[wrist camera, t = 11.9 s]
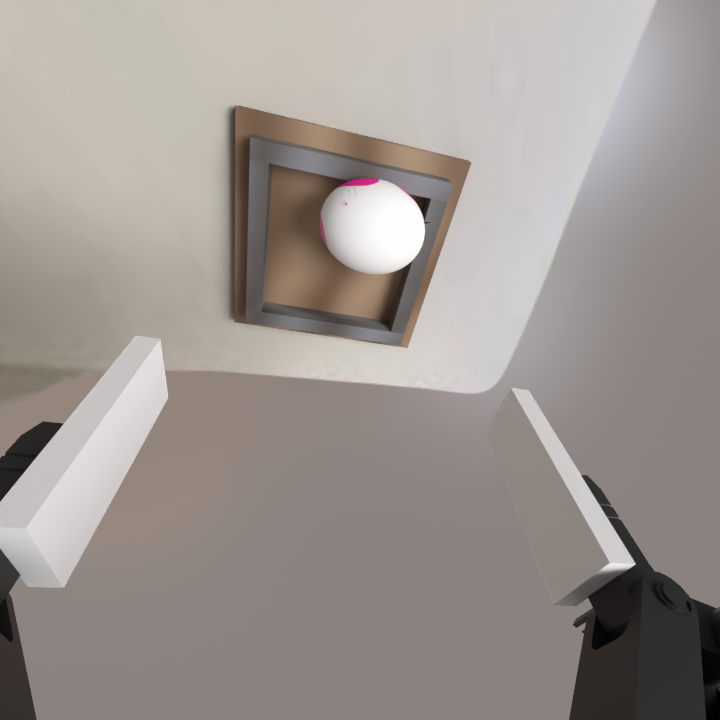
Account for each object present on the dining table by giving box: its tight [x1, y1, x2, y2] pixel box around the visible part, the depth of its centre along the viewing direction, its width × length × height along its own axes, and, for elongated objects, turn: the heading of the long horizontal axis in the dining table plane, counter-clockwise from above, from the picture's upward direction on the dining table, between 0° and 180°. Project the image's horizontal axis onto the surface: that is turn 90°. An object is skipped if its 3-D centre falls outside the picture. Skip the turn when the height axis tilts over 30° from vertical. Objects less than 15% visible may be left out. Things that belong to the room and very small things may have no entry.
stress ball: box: [320, 158, 430, 274], centre depth 25 cm, size 8×8×7 cm
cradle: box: [235, 106, 471, 348], centre depth 28 cm, size 16×16×3 cm
